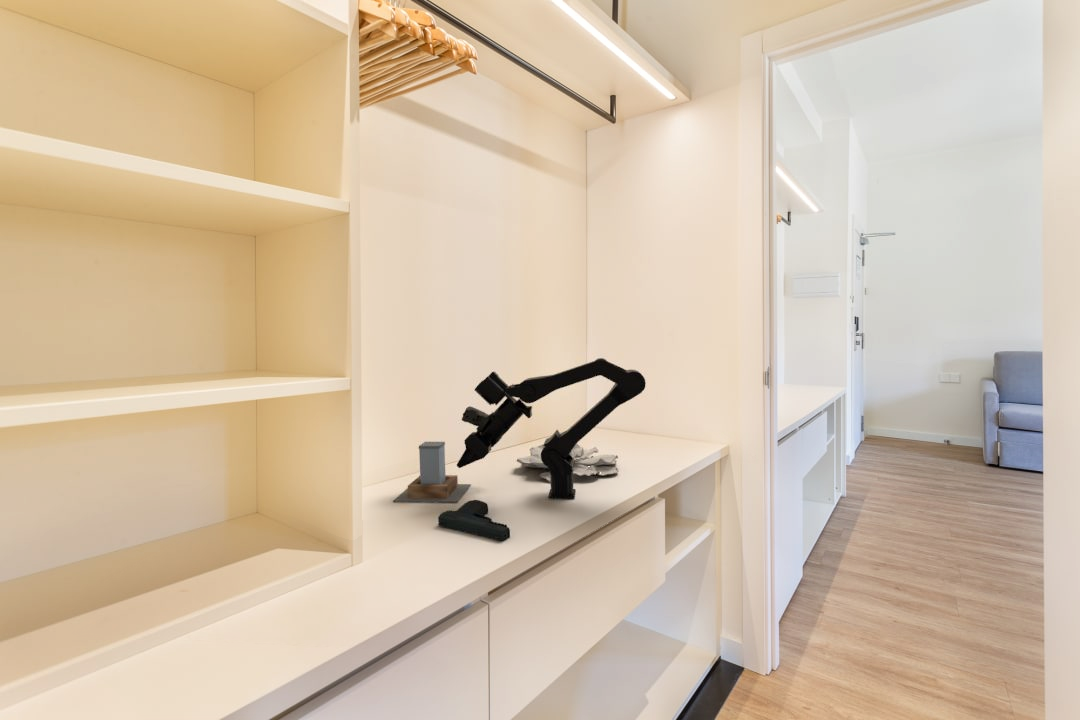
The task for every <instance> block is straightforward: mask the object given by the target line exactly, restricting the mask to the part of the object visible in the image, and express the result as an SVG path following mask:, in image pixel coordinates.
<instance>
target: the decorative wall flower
mask: <svg viewBox="0 0 1080 720" xmlns="http://www.w3.org/2000/svg"><path fill="white" fill-rule="evenodd" d="M543 445H544V443H543V444H540V445H538V446H535V447H534V446H532V447H531V448H530V449H529V451H530V455H529V456H523V457H518V458H517V459H516V462H517V463H519V464H522V467H524V468H525V467H526V468H534V469H535V468H536V469H549V468H548V467H547V466H546V465H545V464H544V463H543V462H542V460H541V452H542V449H543V447H544V446H543ZM594 453H599V450H598V448H597V447H596V446H595V447H593V448H591V449H585V448H584V447H582V446H581V445H579V444H578V443H577V444H576V445H575V446H574V448H573V449H572V451H571V452H570V453H569V454H570V455H571V456H572V457H573V458H574V462H573V467H572V470H573V479H574V478H575V475H577V476H580V477H582V476H588V477H590V476H593V475H595V476H608V475H615V474H617V473H619V470H618V467H616V466H615V467H614V466H613V465H616V464H617V460H616V459H619V456H618V455H614V454H602V455H600V454H599V455H595V456H593V455H594ZM588 457H589V458H588ZM586 458H587V459H586ZM607 465H609V466H607ZM611 465H612V466H611ZM588 466H590V467H588ZM600 472H601V474H600ZM596 474H597V475H596ZM539 478H542V479H544V480H547V481H548V482H549V483H550V471H546V472H542V473H540V474H539Z"/></svg>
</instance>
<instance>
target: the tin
mask: <svg viewBox="0 0 1080 720" xmlns="http://www.w3.org/2000/svg"><path fill="white" fill-rule="evenodd" d="M445 445H446V441H424V442H423V443H421V444H420V445H418V450H419V452H418V453H419V454H418V455H419V476H420V483H421V484H444V483H445V482H446V476H445V475H446V454H445V451H446V447H445Z"/></svg>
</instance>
